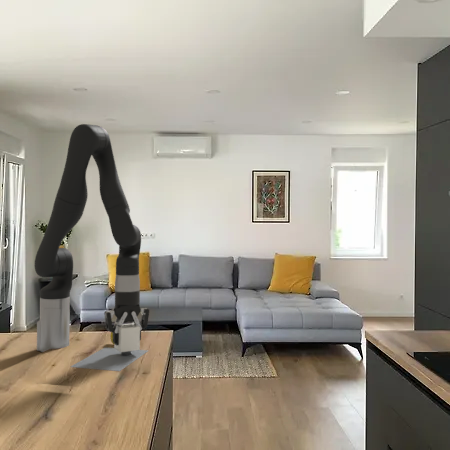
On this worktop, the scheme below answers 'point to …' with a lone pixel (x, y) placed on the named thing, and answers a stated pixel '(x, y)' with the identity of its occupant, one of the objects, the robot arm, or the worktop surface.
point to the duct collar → (128, 338)
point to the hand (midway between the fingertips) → (127, 343)
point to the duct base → (109, 359)
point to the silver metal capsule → (126, 353)
